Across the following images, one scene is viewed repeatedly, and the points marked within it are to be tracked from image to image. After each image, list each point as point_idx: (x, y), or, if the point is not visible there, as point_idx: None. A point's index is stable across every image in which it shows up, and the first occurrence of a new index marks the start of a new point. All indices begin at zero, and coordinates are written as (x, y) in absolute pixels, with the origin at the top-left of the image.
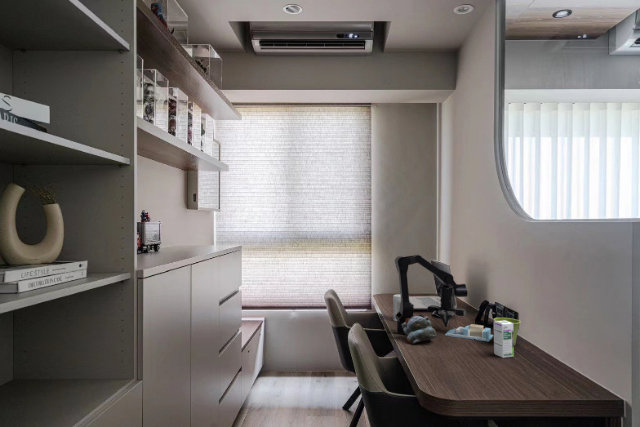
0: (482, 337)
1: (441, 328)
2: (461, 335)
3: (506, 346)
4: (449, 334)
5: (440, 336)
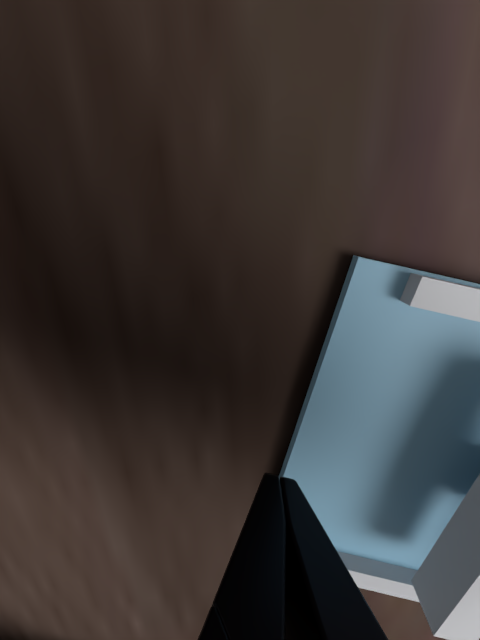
0: None
1: (182, 165)
2: None
3: None
4: None
5: (212, 570)
